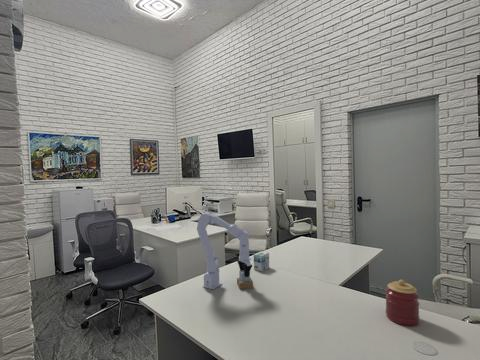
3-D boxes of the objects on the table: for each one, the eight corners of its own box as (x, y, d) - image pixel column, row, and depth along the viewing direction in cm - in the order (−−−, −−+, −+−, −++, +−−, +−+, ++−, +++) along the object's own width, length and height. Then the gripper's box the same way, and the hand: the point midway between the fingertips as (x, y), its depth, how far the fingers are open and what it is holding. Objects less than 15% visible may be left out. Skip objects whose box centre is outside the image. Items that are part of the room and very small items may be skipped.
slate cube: (250, 280, 156) (249, 272, 156) (242, 282, 154) (241, 273, 154) (247, 277, 161) (247, 269, 161) (239, 278, 159) (239, 270, 159)
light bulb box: (261, 271, 181) (261, 256, 181) (253, 269, 185) (253, 254, 185) (269, 267, 189) (269, 252, 189) (261, 265, 193) (261, 250, 193)
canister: (403, 329, 111) (403, 287, 111) (379, 313, 124) (378, 276, 123) (426, 323, 115) (426, 283, 115) (401, 309, 127) (400, 273, 127)
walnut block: (253, 288, 155) (252, 281, 155) (239, 290, 153) (239, 283, 153) (249, 283, 162) (249, 276, 162) (237, 284, 161) (236, 277, 161)
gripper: (255, 254, 152) (255, 277, 152) (246, 247, 166) (246, 269, 166) (243, 255, 150) (244, 279, 150) (235, 249, 163) (235, 271, 163)
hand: (244, 274), depth 158 cm, fingers open, 7 cm apart
